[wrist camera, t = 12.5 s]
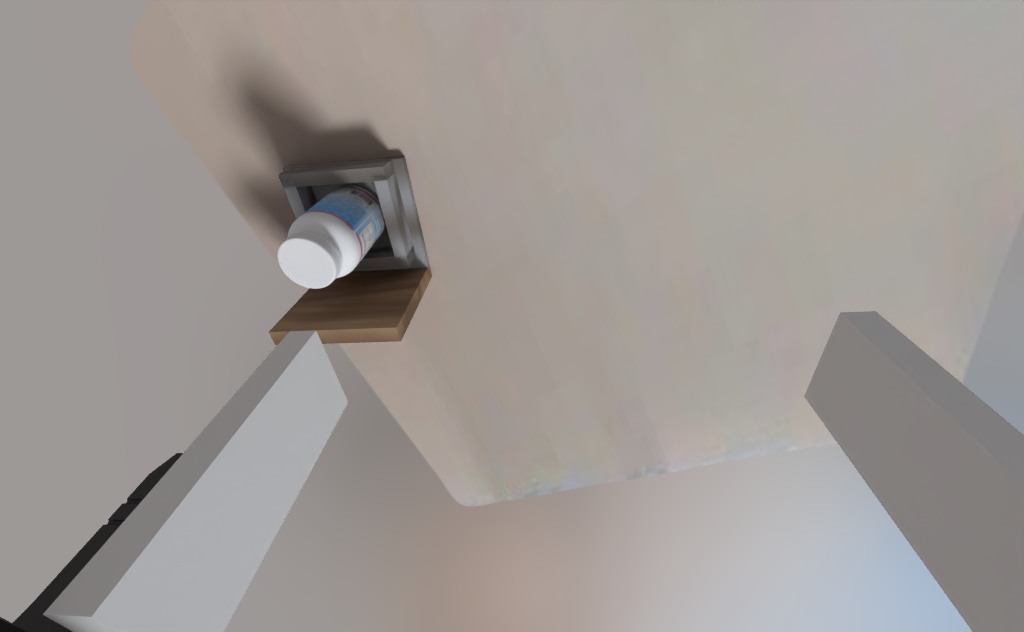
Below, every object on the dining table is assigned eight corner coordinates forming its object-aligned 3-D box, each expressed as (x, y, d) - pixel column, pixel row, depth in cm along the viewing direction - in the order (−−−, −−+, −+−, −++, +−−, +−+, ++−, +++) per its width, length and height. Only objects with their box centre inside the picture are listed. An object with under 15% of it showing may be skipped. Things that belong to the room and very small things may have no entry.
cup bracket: (287, 166, 40) (203, 208, 31) (404, 156, 39) (356, 197, 29) (331, 281, 48) (275, 345, 38) (432, 276, 46) (401, 341, 36)
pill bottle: (315, 200, 41) (250, 248, 32) (362, 172, 39) (306, 215, 30) (354, 250, 44) (304, 306, 35) (399, 226, 42) (359, 279, 33)
